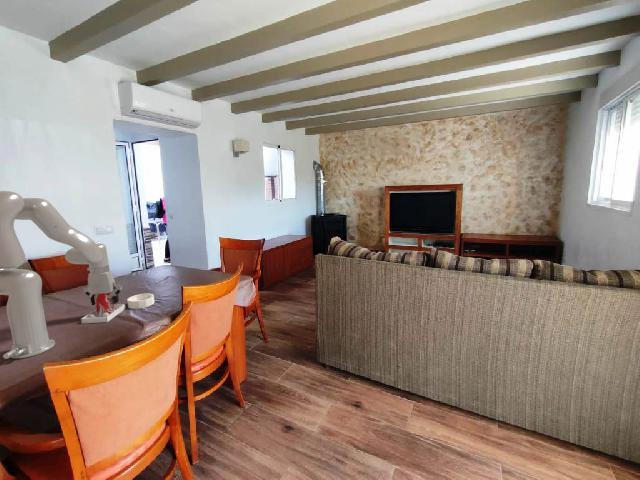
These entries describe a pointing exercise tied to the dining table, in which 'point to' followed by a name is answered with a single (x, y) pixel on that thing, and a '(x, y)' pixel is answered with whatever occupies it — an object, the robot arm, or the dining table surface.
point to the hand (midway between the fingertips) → (105, 303)
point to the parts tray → (103, 319)
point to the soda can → (104, 303)
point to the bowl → (140, 301)
